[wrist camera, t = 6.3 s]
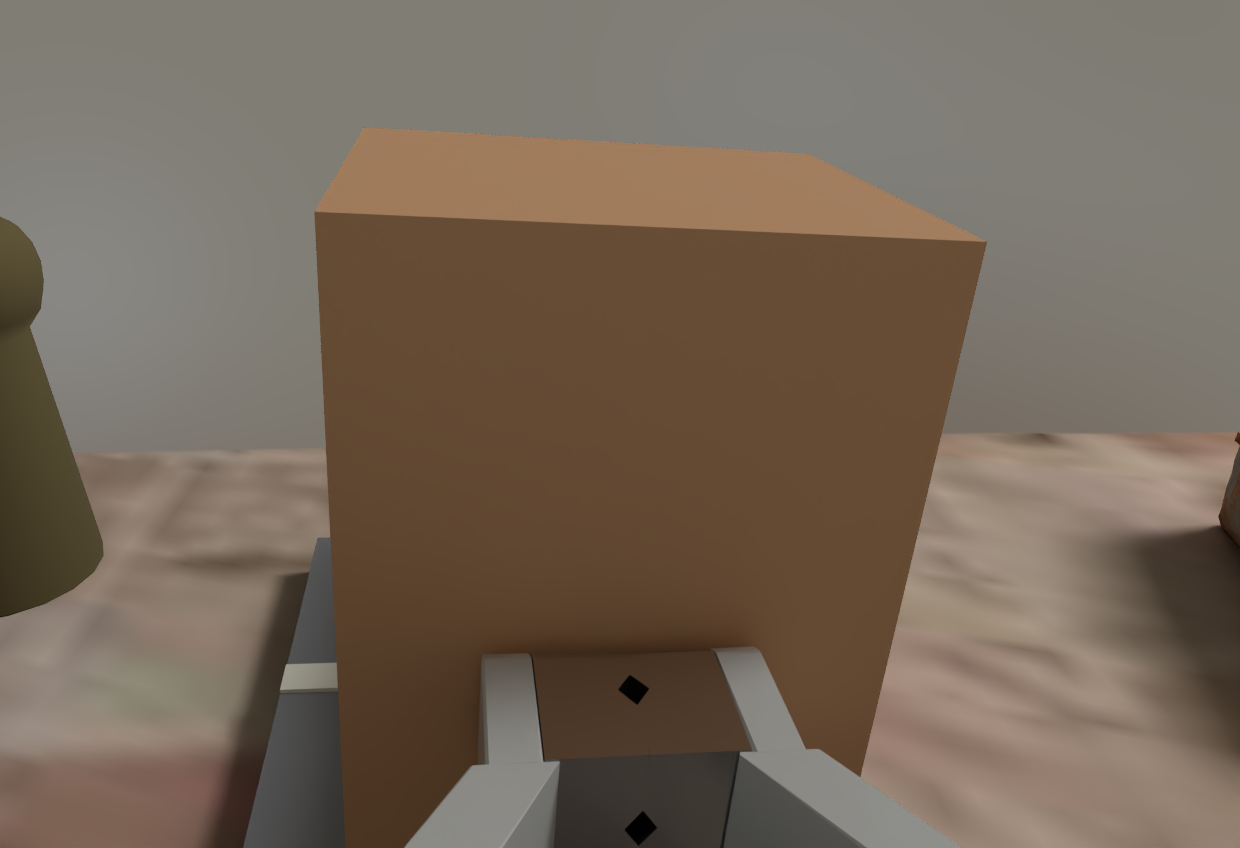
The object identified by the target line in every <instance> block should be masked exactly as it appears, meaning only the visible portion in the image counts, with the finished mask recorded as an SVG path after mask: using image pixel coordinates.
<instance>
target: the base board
mask: <svg viewBox="0 0 1240 848" xmlns="http://www.w3.org/2000/svg"><path fill="white" fill-rule="evenodd" d="M243 848H346V845H345V825H344V804H343V784H342V763H341V743H340V722H339V702H338V681H337V661H336V640H335V620H334V599H333V579H332V558H331V538H318V539H317V543H316V547H315V551H314V555H313V560H312V564H311V568H310V572H309V576H308V580H307V584H306V589H305V593H304V597H303V601H302V605H301V609H300V613H299V618H298V622H297V626H296V630H295V634H294V638H293V642H292V647H291V651H290V655H289V659H288V663H287V664H286V667H285V671H284V675H283V679H282V683H281V687H280V696H279V701H278V705H277V709H276V713H275V717H274V721H273V725H272V730H271V734H270V738H269V742H268V746H267V750H266V755H265V759H264V763H263V767H262V771H261V775H260V779H259V784H258V788H257V792H256V796H255V800H254V804H253V808H252V813H251V817H250V821H249V825H248V829H247V833H246V838H245V842H244V846H243Z"/></svg>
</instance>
